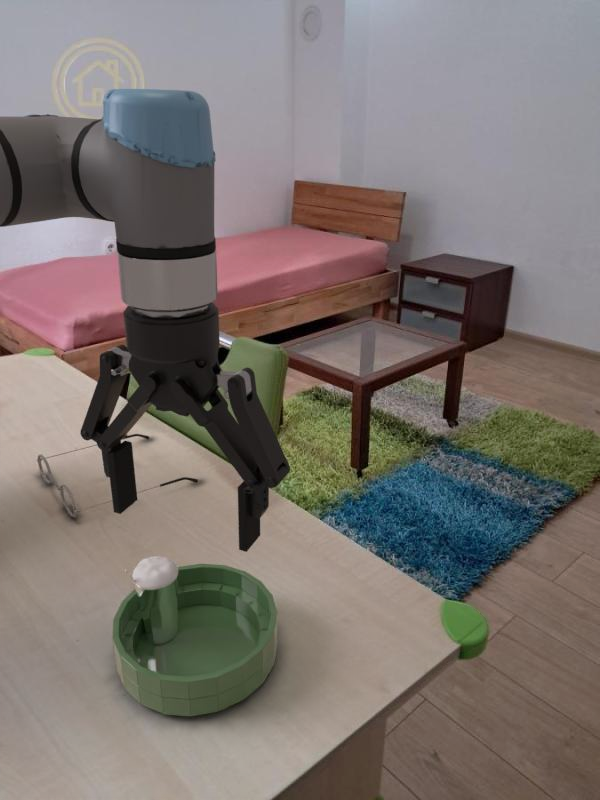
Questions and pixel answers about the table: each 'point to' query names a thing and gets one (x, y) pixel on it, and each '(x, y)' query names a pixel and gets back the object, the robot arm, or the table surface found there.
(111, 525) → the table surface
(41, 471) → the eyeglasses
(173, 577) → the milkshake
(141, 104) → the robot arm
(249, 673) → the bowl
